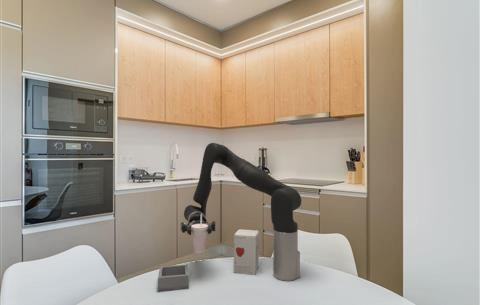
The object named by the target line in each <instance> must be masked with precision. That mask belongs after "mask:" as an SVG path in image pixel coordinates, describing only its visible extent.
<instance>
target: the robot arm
mask: <svg viewBox="0 0 480 305" xmlns="http://www.w3.org/2000/svg"><path fill="white" fill-rule="evenodd" d="M201 163H202V164H201V167H200V168H201V169H200V173H199V178H198V183H197V185H196V189H195V191H194V194H193V198H192V199H193V201H194V202H195V203H196V204H198V205H200V207H199V206H197V205H192V204H189V205H187V206H186V207H185V208H184V211H183V217H184V219H185V220H186V221H187V223H185V222H183V221H182V222H180V231H181V232H182V233H183V234H185V233H186V232H187V235H189V236H191V235H192V229H191V226H192V225H194V224H200V214H202V224H207V225H208V229H207V234H208V235H211V233H213V232H216V221H211V222H210V223H209V221H207V218H206V216H207V203H208V200H209V197H210V194H211V191H212V188H213V187H212V185H213V182H212V170H213V167H214V165H215V164H219V165H222V166H225V168H228V169H229V170H230V171H231V172H232V174H233V176H234V177H235V178H236V179H237V180H238V181H240V182H241V183H242V184H243V185H245V186H246V187H248V188H250V189H253V190H256V191H258V192H260V193H263V194H266V195H268V196H270V197H271V198H270V217H271V218H270V219H271V223H272V227H273V231H272V232H273V234H272V235H273V247H272V248H273V253H272V254H273V256H272V257H273V258H272V261H273V266H272V268H273V269H272V272H273V274H272V275H273V276H274V278H276V279H278V280H281V281H288V282H289V281H295V280H297V279H299V278H301V251H299V250H298V249H299V248H298V247H299V245H298V244H299V241H298V240H299V239H298V238H299V237H298V234H299V232H298V231H299V228H298V227H299V226H298V223H297V222H296V221H295V220H294V212H293V211H296V210H298V209H299V208H300V207H301V205H302V197H301V194H300V193H299V192H298V191H297V190H296V189H295V188H293V187H291V186H289V185H287V184H284V183H282V182H281V181H279V180H277V179H275V178H274V177H272V176H271V175H270V174H268V173H267V172H266V171H263V170H262V169H261V168H259V167H257V165H254V164H253V163H251V162H249V161H247V160H246V159H244V158H242V157H240V156H238V155H237V154H236V153H234V151H232V150H231V149H229V148H228V147H227V146H225V145H224V144H220V143H216V142H210V143H209V144H207V145H206V147H205V150H204V152H203V156H202V161H201Z"/></svg>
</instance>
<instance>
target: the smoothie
mask: <svg viewBox="0 0 480 305" xmlns="http://www.w3.org/2000/svg"><path fill="white" fill-rule="evenodd" d="M191 229H192V232H191V235H192V243H193V253H194V254H199V255H200V254H204V253H205V249H206V243H207V242H206V240H207V234H208V232H207V229H208V225H207V224H202V214H200V224H194V225H192V226H191Z"/></svg>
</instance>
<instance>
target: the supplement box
mask: <svg viewBox="0 0 480 305" xmlns="http://www.w3.org/2000/svg"><path fill="white" fill-rule="evenodd" d="M233 235H234V236H233V273H234V274H235V273H237V274H245V275H253V276H256V275H257V273H258V269H259V264H260V263H259V260H260V259H259V258H260V256H259V255H260V254H259V253H260V252H259V251H260V230H253V229H241V228H239V229H238V230H237V231H236V232H234V234H233Z"/></svg>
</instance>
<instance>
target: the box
mask: <svg viewBox="0 0 480 305" xmlns="http://www.w3.org/2000/svg"><path fill="white" fill-rule="evenodd" d="M188 265H189V264H186V263H185V264H176V265H175V264H174V265H164V266H163V265H161V266H159V270H158V277H157V292H158V293H160V292H161V293H162V292H170V291H182V290H189V287H190V286H189V284H190V283H189V281H190V280H189V279H190V275H189V266H188Z"/></svg>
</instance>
